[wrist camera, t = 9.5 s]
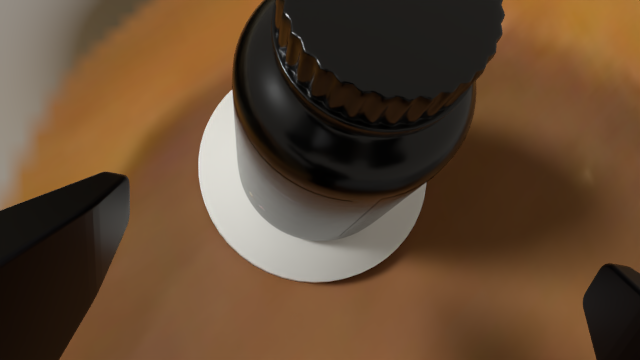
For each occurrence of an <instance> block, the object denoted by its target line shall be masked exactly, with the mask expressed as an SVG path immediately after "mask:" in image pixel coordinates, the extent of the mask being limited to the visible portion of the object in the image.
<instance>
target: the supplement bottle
mask: <svg viewBox="0 0 640 360" xmlns="http://www.w3.org/2000/svg"><path fill="white" fill-rule="evenodd" d="M502 1H503V0H263V1H262V2H261V3H260V5H259V6H258V7H257V8H256V9H255V11H254V12H253V13H252V15H251V16H250V18H249V19H248V21H247V22H246V24H245V26H244V28H243V30H242V32H241V35H240V37H239V40H238V43H237V46H236V50H235V54H234V61H233V72H232V92H233V106H234V121H235V135H236V149H237V162H238V170H239V175H240V180H241V183H242V186H243V188H244V191H245V193H246V195H247V197H248V199H249V201H250V203H251V204H252V205H253V207H254V208H255V210H256V211H257V212H258V213H259V214H260V215H261V216H262V217H263V218H264V219H265V220H266V221H267V222H268V223H270V224H271V225H272V226H274V227H275V228H277V229H278V230H280V231H282V232H284V233H286V234H288V235H291V236H293V237H297V238H300V239H305V240H311V241H331V240H337V239H341V238H345V237H348V236H351V235H353V234H355V233H358V232H359V231H361V230H363V229H365V228H366V227H368V226H369V225H371V224H372V223H373V222H375V221H376V220H378V219H379V218H380V217H382V216H383V215H384V214H385V213H387V212H388V211H389V210H391V209H392V208H393V207H395V206H396V205H397V204H399V203H400V202H401V201H402V200H404V199H405V198H406V197H408V196H409V195H410V194H412V193H413V192H414V191H416V190H417V189H418V188H420V187H421V186H422V185H423V184H425V183H426V182H427V181H429V180H430V179H431V178H432V177H434V176H435V175H436V174H437V173H438V172H439V171H440V170H441V169H442V168H443V167H444V166H445V165H446V164H447V163H448V162H449V161H450V160H451V159H452V158H453V156H454V155H455V154H456V152H457V151H458V149H459V148H460V146H461V145H462V143H463V141H464V139H465V137H466V135H467V133H468V130H469V128H470V125H471V122H472V119H473V115H474V109H475V103H476V80H477V79H478V78H479V77H480V75H481V74H482V73H483V71H484V69H485V67H486V64H487V63H488V62H489V61H490V60H491V59H492V58H493V57H494V55H495V53H496V43H497V42H498V41H499V40H500V38H501V36H502V26H501V23H502V21H503V19H504V16H505V14H504V11H503V8H502V5H501V4H502Z"/></svg>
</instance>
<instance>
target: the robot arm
mask: <svg viewBox="0 0 640 360" xmlns="http://www.w3.org/2000/svg"><path fill="white" fill-rule="evenodd" d="M129 215H130V189H129V179H128V177H127V176H126V175H122V174H116V173H111V172H102V173H99V174H96V175H94V176H91V177H88V178H86V179H83V180H81V181H78V182H75V183H73V184H70V185H67V186H65V187H62V188H59V189H57V190H54V191H51V192H49V193H46V194H43V195H41V196H38V197H35V198H33V199H30V200H27V201H25V202H22V203H19V204H17V205H14V206H12V207H9V208H6V209H4V210H1V211H0V360H59V359H60V357H61V356H62V354H63V352H64V350H65V349H66V347H67V345H68V344H69V342H70V340H71V339H72V337H73V335H74V333H75V332H76V330H77V328H78V327H79V325H80V323H81V322H82V320H83V318H84V316H85V315H86V313H87V311H88V310H89V308H90V306H91V304H92V303H93V301H94V299H95V297H96V295H97V293H98V291H99V289H100V287H101V285H102V283H103V280H104V278H105V276H106V273H107V271H108V269H109V266H110V264H111V262H112V259H113V257H114V255H115V253H116V250H117V248H118V246H119V243H120V241H121V239H122V236H123V234H124V232H125V229H126V227H127V224H128V221H129ZM583 309H584V312H585V316H586V320H587V324H588V328H589V332H590V336H591V340H592V344H593V348H594V352H595V355H596V359H597V360H640V273H638V272H637V271H635V270H633V269H632V268H630V267H627V266H623V265H617V264H611V263H608V264H605V265H603V266H602V267H601V268H600V270H599V271H598V273H597V275H596V276H595V278H594V280H593V281H592V283H591V284H590V286H589V288H588V289H587V291H586V293H585V295H584V298H583Z"/></svg>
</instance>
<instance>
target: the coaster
mask: <svg viewBox="0 0 640 360" xmlns="http://www.w3.org/2000/svg"><path fill="white" fill-rule="evenodd" d="M199 181H200V188H201V192H202V196H203V199H204V203H205V206H206V208H207V210H208V213H209V215H210V217H211V220H212V222H213V223H214V225H215V227H216V228H217V230H218V232H219V233H220V235H221V236H222V237H223V238H224V240H225V241H226V242H227V243H228V245H229V246H230V247H231V248H232V249H233V250H235V251H236V252H237V253H238V254H239V255H240V256H241V257H242V258H244V259H245V260H246V261H248V262H249V263H251V264H252V265H254V266H255V267H257V268H259V269H261V270H263V271H265V272H267V273H269V274H272V275H275V276H277V277H280V278H283V279H288V280H292V281H297V282H308V283H320V282H331V281H336V280H342V279H345V278H348V277H351V276H354V275H357V274H360V273H362V272H364V271H366V270H368V269H370V268H372V267H374V266H376V265H377V264H379V263H380V262H382V261H383V260H385V259H386V258H387V257H388V256H389V255H391V254H392V253H393V252H394V251H395V250H396V249H397V248H398V247H399V246H400V245H401V243H402V242H403V241H404V240H405V239H406V237H407V236H408V234H409V233H410V231H411V230H412V228H413V226H414V225H415V223H416V220H417V218H418V216H419V214H420V211H421V208H422V204H423V201H424V197H425V190H426V183H425V184H423V185H422V186H421V187H420V188H418V189H417V190H416V191H414V192H413V193H412V194H410V195H409V196H408V197H406V198H405V199H404V200H402V201H401V202H400V203H399V204H397V205H396V206H395V207H393V208H392V209H391V210H389V211H388V212H387V213H385V214H384V215H383V216H382V217H380V218H379V219H378V220H376V221H375V222H373V223H372V224H371V225H369V226H368V227H366V228H365V229H363V230H361V231H359V232H358V233H355V234H353V235H351V236H348V237H345V238H341V239H337V240H331V241H311V240H305V239H300V238H297V237H293V236H291V235H288V234H286V233H284V232H282V231H280V230H278V229H277V228H275V227H274V226H272V225H271V224H270V223H268V222H267V221H266V220H265V219H264V218H263V217H262V216H261V215H260V214H259V213H258V212H257V211H256V210H255V208H254V207H253V205H252V204H251V203H250V201H249V199H248V197H247V195H246V193H245V191H244V188H243V186H242V183H241V180H240V175H239V170H238V162H237V149H236V135H235V121H234V106H233V92H232V90H231V91H230V92H229V93H228V94H227V95H226V96H225V98H224V99H223V100H222V101H221V102H220V103H219V105H218V106H217V108H216V109H215V111H214V113H213V114H212V116H211V118H210V120H209V122H208V124H207V126H206V129H205V131H204V135H203V138H202V141H201V146H200V153H199Z"/></svg>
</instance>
